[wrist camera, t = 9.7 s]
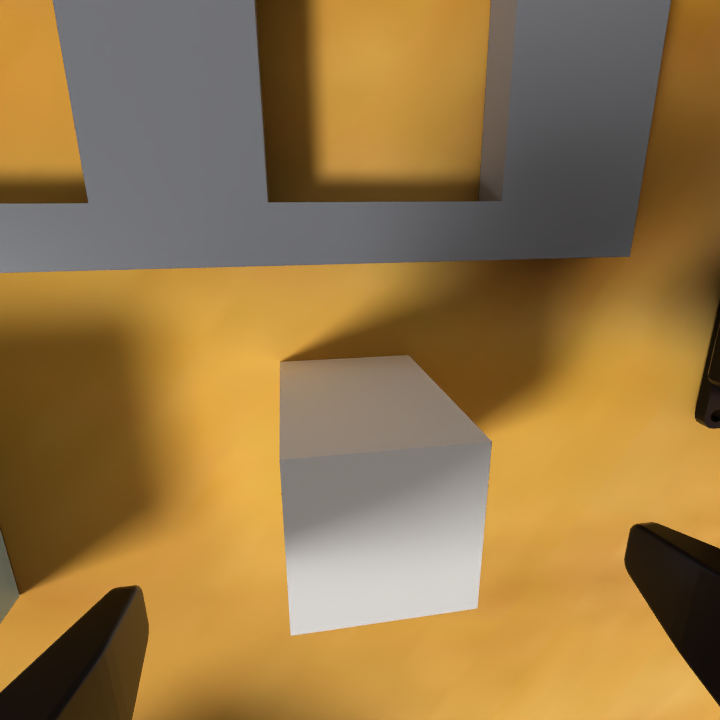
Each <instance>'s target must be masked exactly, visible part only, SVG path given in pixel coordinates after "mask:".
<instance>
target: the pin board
mask: <svg viewBox="0 0 720 720" xmlns="http://www.w3.org/2000/svg"><path fill="white" fill-rule="evenodd" d="M670 3H671V0H491V9H490V25H489V41H488V57H487V73H486V89H485V105H484V121H483V137H482V154H481V170H480V186H479V201H445V202H269V193H268V177H267V162H266V147H265V132H264V116H263V101H262V86H261V71H260V55H259V40H258V25H257V10H256V0H53V5H54V11H55V16H56V22H57V28H58V33H59V39H60V45H61V51H62V56H63V62H64V68H65V73H66V79H67V85H68V90H69V96H70V102H71V107H72V113H73V119H74V124H75V130H76V136H77V141H78V147H79V153H80V159H81V164H82V170H83V176H84V181H85V187H86V193H87V198H88V203H27V204H0V273H12V272H51V271H89V270H128V269H167V268H206V267H244V266H283V265H322V264H360V263H399V262H438V261H476V260H515V259H554V258H592V257H630V253H631V247H632V241H633V234H634V228H635V222H636V216H637V209H638V203H639V197H640V191H641V184H642V178H643V172H644V166H645V159H646V153H647V147H648V141H649V134H650V128H651V122H652V116H653V109H654V103H655V97H656V91H657V84H658V78H659V72H660V66H661V59H662V53H663V47H664V41H665V34H666V28H667V22H668V15H669V9H670Z"/></svg>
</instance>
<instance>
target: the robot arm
mask: <svg viewBox="0 0 720 720" xmlns="http://www.w3.org/2000/svg"><path fill="white" fill-rule="evenodd" d="M695 419H696V421H697V422H699V423H700V424H702V425H704V426H706V427H708V428H713V429H715V428H720V303H719V308H718V312H717V316H716V321H715V325H714V330H713V334H712V339H711V343H710V348H709V352H708V357H707V361H706V366H705V370H704V375H703V379H702V384H701V388H700V393H699V397H698V402H697V406H696V411H695ZM624 561H625V567H626V569H627V572H628V574H629V575H630V577H631V578H632V580H633V582H634V583H635V585H636V586H637V588H638V589H639V591H640V593H641V594H642V596H643V597H644V599H645V600H646V602H647V604H648V605H649V607H650V608H651V610H652V611H653V613H654V614H655V616H656V618H657V619H658V621H659V622H660V624H661V625H662V627H663V629H664V630H665V632H666V633H667V635H668V636H669V638H670V639H671V641H672V642H673V644H674V645H675V647H676V648H677V650H678V651H679V653H680V654H681V656H682V657H683V658H684V660H685V661H686V662H687V664H688V665H689V667H690V668H691V669H692V671H693V672H694V673H695V675H696V676H697V677H698V678H699V680H700V681H701V682H702V684H703V685H704V686H705V688H706V689H707V690H708V692H709V693H710V694H711V696H712V697H713V698H714V700H715V701H716V702H717V704H718V705H719V706H720V549H719V548H717V547H714V546H712V545H709V544H707V543H705V542H702V541H700V540H697V539H695V538H692V537H690V536H687V535H685V534H682V533H680V532H678V531H675V530H673V529H670V528H668V527H665V526H663V525H660V524H658V523H654V522H649V523H641V524H635V525H633V526H632V528H631V529H630V532H629V537H628V542H627V547H626V553H625V558H624ZM148 635H149V624H148V618H147V613H146V607H145V602H144V597H143V592H142V590H141V588H140V587H139V586H137V585H134V586H126V587H118V588H114V589H112V590H111V591H109V592H108V593H107V594H106V595H105V596H104V597H103V598H102V599H101V600H100V601H98V602H97V603H96V604H95V605H94V606H93V607H92V608H91V609H90V610H89V611H88V612H87V613H86V614H84V615H83V616H82V617H81V618H80V619H79V620H78V621H77V622H76V623H75V624H74V625H73V626H72V627H70V628H69V629H68V630H67V631H66V632H65V633H64V634H63V635H62V636H61V637H60V638H59V639H58V640H56V641H55V642H54V643H53V644H52V645H51V646H50V647H49V648H48V649H47V650H46V651H45V652H44V653H42V654H41V655H40V656H39V657H38V658H37V659H36V660H35V661H34V662H33V663H32V664H31V665H29V666H28V667H27V668H26V669H25V670H24V671H23V672H22V673H21V674H20V675H19V676H18V677H17V678H15V679H14V680H13V681H12V682H11V683H10V684H9V685H8V686H7V687H6V688H5V689H4V690H3V691H1V692H0V720H132V717H133V712H134V707H135V702H136V697H137V692H138V687H139V682H140V677H141V672H142V667H143V662H144V657H145V652H146V647H147V642H148Z"/></svg>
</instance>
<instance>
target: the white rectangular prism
mask: <svg viewBox="0 0 720 720" xmlns="http://www.w3.org/2000/svg"><path fill="white" fill-rule="evenodd" d="M491 446H492V441H491V440H490V439H489V438H488V437H487V436H486V435H485V434H484V433H483V432H482V431H481V430H480V429H479V428H478V427H477V426H476V425H475V423H474V422H473V421H472V420H471V419H470V418H469V417H468V416H467V415H466V414H465V413H464V412H463V411H462V410H461V409H460V408H459V407H458V406H457V405H456V404H455V403H454V402H453V401H452V400H451V399H450V398H449V396H448V395H447V394H446V393H445V392H444V391H443V390H442V389H441V388H440V387H439V386H438V385H437V384H436V383H435V382H434V381H433V380H432V379H431V378H430V377H429V376H428V375H427V374H426V373H425V372H424V370H423V369H422V368H421V367H420V366H419V365H418V364H417V363H416V362H415V361H414V360H413V359H412V358H411V357H410V356H409V355H400V356H381V357H362V358H343V359H324V360H304V361H285V362H280V473H281V489H282V504H283V520H284V536H285V551H286V567H287V583H288V599H289V614H290V630H291V636H292V635H299V634H306V633H313V632H320V631H326V630H333V629H340V628H347V627H354V626H360V625H367V624H374V623H381V622H388V621H395V620H401V619H408V618H415V617H422V616H429V615H436V614H442V613H449V612H456V611H463V610H470V609H476V608H477V605H478V594H479V583H480V571H481V560H482V548H483V537H484V526H485V514H486V503H487V491H488V480H489V469H490V457H491Z"/></svg>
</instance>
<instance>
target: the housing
mask: <svg viewBox="0 0 720 720" xmlns="http://www.w3.org/2000/svg"><path fill="white" fill-rule="evenodd" d="M18 598H19V592H18V589H17V585H16V582H15V579H14V575H13V572H12V568H11V565H10V561H9V558H8V554H7V551H6V548H5V544H4V541H3V537H2V534H1V530H0V623H1V622H2V620H3V619H4V618H5V616H6V615H7V613H8V612H9V610H10V609H11V608H12V606H13V605H14V603H15V602H16V600H17V599H18Z"/></svg>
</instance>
